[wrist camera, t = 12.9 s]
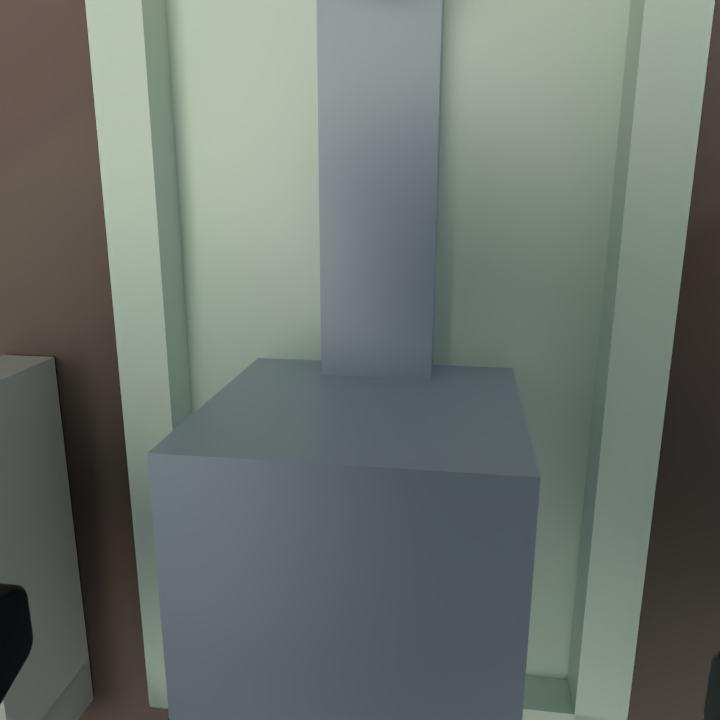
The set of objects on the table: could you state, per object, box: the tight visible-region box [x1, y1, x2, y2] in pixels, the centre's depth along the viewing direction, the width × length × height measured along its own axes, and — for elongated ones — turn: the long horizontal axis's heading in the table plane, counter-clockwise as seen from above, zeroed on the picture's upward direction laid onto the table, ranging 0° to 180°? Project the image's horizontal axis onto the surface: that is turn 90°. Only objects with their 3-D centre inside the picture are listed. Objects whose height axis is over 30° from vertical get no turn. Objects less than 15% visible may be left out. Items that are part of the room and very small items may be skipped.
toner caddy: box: [147, 0, 540, 720], centre depth 11 cm, size 15×5×5 cm, turn 0°
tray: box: [85, 0, 715, 720], centre depth 12 cm, size 21×10×2 cm, turn 0°
